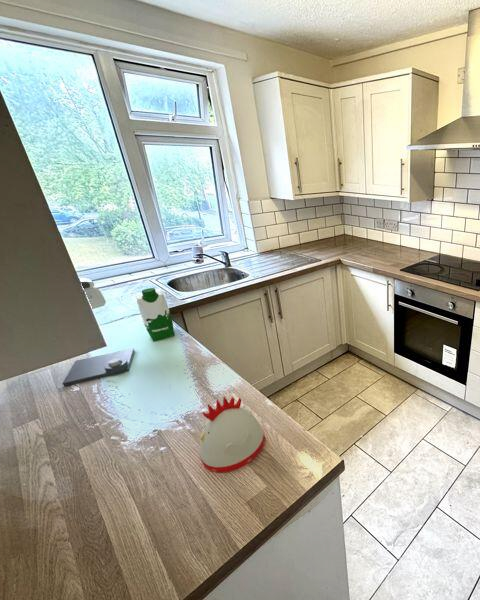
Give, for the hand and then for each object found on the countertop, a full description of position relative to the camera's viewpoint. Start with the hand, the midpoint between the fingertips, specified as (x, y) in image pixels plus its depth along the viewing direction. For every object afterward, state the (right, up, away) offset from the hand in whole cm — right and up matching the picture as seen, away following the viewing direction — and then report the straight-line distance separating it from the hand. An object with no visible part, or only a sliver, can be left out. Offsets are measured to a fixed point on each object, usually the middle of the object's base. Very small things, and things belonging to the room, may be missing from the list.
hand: (72, 328), depth 104 cm
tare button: (+12, -12, +3) cm, 17 cm away
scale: (+5, -14, +5) cm, 15 cm away
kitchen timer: (+64, -27, -24) cm, 74 cm away
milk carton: (+11, -5, +26) cm, 28 cm away
